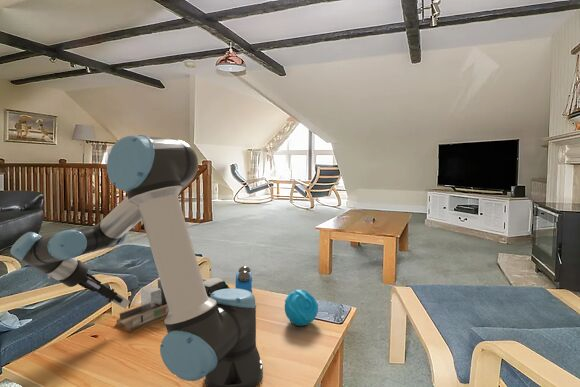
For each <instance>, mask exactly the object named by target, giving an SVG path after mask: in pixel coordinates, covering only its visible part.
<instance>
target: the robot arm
mask: <svg viewBox="0 0 580 387" xmlns="http://www.w3.org/2000/svg"><path fill="white" fill-rule="evenodd" d="M106 159H107V161H106V172H107V177H108V179H109V181H110V183H111V184H112V185H113V186H115V188H116V189H118V190H120V191H124V192H125V193H126V195H127V196H126V197H125V198H124V199H123V200H122V201H121V202H119V203H118V204H117V206H115V207H114V208H113V209H112V210H111V211H110V212H109V213H108V214H107V215H106V216H105V217H103V219H101V220H100V221H99V222H98V223H97V224H95V225H92V226H87V227H81V228H76V229H67V230H62V231H61V230H60V231H59V232H57V233H54V234H51V235H48V236H41V234H37V233H36V232H34V231H29V232H26V233H24V234H23V235H21V236H20V237H19V238H18V239H17V240H16V241H15V242H14V243H13V245H12V246H11V248H10V254H11V255H12V256H13V257H15V258H17V259H18V260H19V261H20V262H23V263H25V264H26V265H28V266H30V267H32V268H34V269H36V270H38V271H39V272H41V273H44V275H47V277H46V278H47V279H51V278H53V279H55V280H56V281H59V283H61V284H63V285H64V286H66V287H68V288H72V287H76V286H77V285H78V286H80V287H82V288H84V289H86V290H87V289H88V290H90V291H91V292H97V293H98V294H100V295H101V296H102V297H105V299H108V300H107V302H109V303H111V302H112V303H114V304H116V305H118V306H120V307H121V308H123V309H126V308H127V307H128V306H129V305H130V303H131V301H130V300H129V299H128V298H126V297H124V296H122V295H120V294H118V292H116V291H115V289H114V288H111V289H110V288H109V287H108V286H106V285H104V284H102V282H101V281H100V280H98V279H97V278H96V277H95V276H93V275H92V274H89V273H88V272H89V266H88V264H85V262H83V261H82V260H79V259H78V258H77V257H80V256H84V255H87V254H91V253H95V252H98V251H102V250H106V249H111V248H114V247H116V246H118V245H121V244H123V243H124V242H125V239H126V236H127V232H129V231H130V230H131V229H133V227H135V226H136V225H137V224H138V223H140V221H142V223H143V228H144V230H145V233H146V237H147V240H148V244H149V247H150V251H151V253H152V254H151V255H152V257H153V258H152V259H153V260H154V264H155V268H156V271H157V274H158V279H160V281H161V285H162V288H163V292H164V295H165V298H166V302H167V305H168V309H169V313H168V315H167V317H166V318H165V319H164V321H163V322H164V324H165V330H166V332H167V333H166V334H165V336H164V337H163V339H162V340H161V344H160V346H159V352H160V357H161V360H162V362H163V364H164V365H165V367H166V368H167V370H168V371H169V372H170V373H171V374H173V375H175V376H176V377H177V378H179V379H181V380H183V381H187V382H196V381H200V380H202V379H204V380H205V384H206V387H257V386H258V385H259V384H260V383H261V381H262V379H263V377H264V376H263V375H264V369H263V368H264V366H263V362H262V360H261V356H260V353H259V351H258V348H257V319H256V318H257V314H256V312H257V310H256V308H257V305H256V297H255V295H254V294H253V292H252V293H251V292H250V291H247V290H244V289H236V287H235V288H230V287H229V289H220V290H217V291H214V292H213V293H212V294H211V295H210V298H209V297H208V296H207V293H206V289H205V286H204V283H203V281H204V280H203V276H202V273H201V270H200V265H199V263H198V259H197V256H196V252H195V250H194V249H195V248H194V247H193V243H192V240H191V236H190V233H189V230H188V226H187V223H186V220H185V215H184V213H183V210H182V206H181V203H180V199H179V195H180V193H181V191H182V190H183V189H185V188H186V187H187V186H188V185H190V183H192V181H193V179H194V178H195V177H196V176H197V173H198V170H199V169H198V168H199V158H198V155H197V153H196V151H195V149H194V148H193V147H192V146H191V145H190V144H189V143H187V142H185V141H184V140H182V139H179V138H171V137H170V138H167V137H157V136H147V135H144V134H140V135H126V136H124V137H123V136H122V138H119V139H118V140H117V141H116V142H115V143H114V144H113V145H112V147H111V148H110V152H109V153H108V155H107V158H106ZM204 377H205V378H204Z"/></svg>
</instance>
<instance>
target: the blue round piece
mask: <svg viewBox="0 0 580 387" xmlns="http://www.w3.org/2000/svg"><path fill="white" fill-rule="evenodd" d="M318 312H319V304H318V302H317V300H316V299H315V297H314V296H313V295H311V294H310V293H309V292H308V291H306V290H305V289H296V290H294V291H291V292H290V293H289V294H288V295H287V296H286V298H285V300H284V313H285V315H286V317H287V320H289V322H290V323H291V324H293V325H295V326H299V327H300V326H306V325H308V324H309V325H310V323H312V322H313V321H314V320H315V318H316V317H317V315H318Z"/></svg>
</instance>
